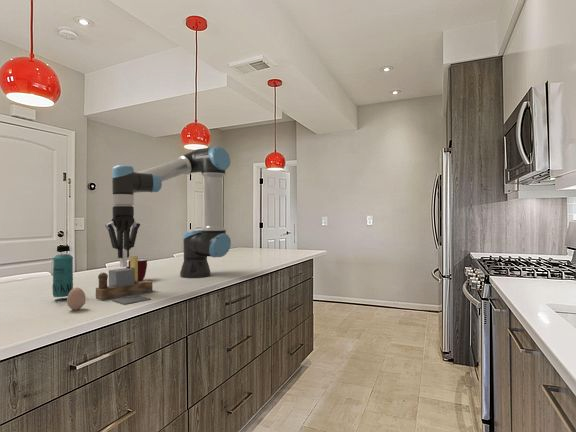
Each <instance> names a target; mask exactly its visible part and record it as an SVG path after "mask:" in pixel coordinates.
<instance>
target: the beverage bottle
mask: <svg viewBox="0 0 576 432" xmlns="http://www.w3.org/2000/svg"><path fill="white" fill-rule="evenodd" d="M70 251H71V248H70V245H65V244H63V245H58V246H56V252H58V253H59V252H61V254H55V256H54V257H53V258H52V260H53V261H52V263H53V265H52V266H53V269H52V271H53V272H52V295H53V297H54V298H64V297H67V296H68V294H69V292H70V291H71V290H72V289H73V288H74V258H73V255H71V254H69V253H67V254H66V253H65V254H64V253H63V254H62V252H70Z"/></svg>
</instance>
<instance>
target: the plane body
mask: <svg viewBox="0 0 576 432" xmlns="http://www.w3.org/2000/svg"><path fill="white" fill-rule="evenodd" d="M97 277H98V287H95V300H99V301H106V300H107V301H108V300H115V299H120V298H125V297H131V296H136V295H140V294H142V295H143V294H148V293H152V292H153V281H150V280H143V281H139V282H138V283H137V284H136V283H134V285H130V286H124V287H118V288H116V287H112V286H109V285H108V279H109V274H107V273H106V272H100V273H99V274H98V276H97Z"/></svg>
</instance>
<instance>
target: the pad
mask: <svg viewBox="0 0 576 432" xmlns="http://www.w3.org/2000/svg"><path fill="white" fill-rule="evenodd" d="M146 301H151V298H150V297H146V296H142V295H140V294H136V295H131V296H125V297H120V298H114V299H111V302H114V303H117V304H120V305H124V306H126V305H130V304H136V303H140V302H146Z"/></svg>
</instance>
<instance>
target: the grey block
mask: <svg viewBox="0 0 576 432" xmlns="http://www.w3.org/2000/svg"><path fill="white" fill-rule="evenodd" d="M130 285H134V269H129V268H126V267H122V268H115V269H109V270H108V286H112V287H116V288H118V287H124V286H130Z"/></svg>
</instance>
